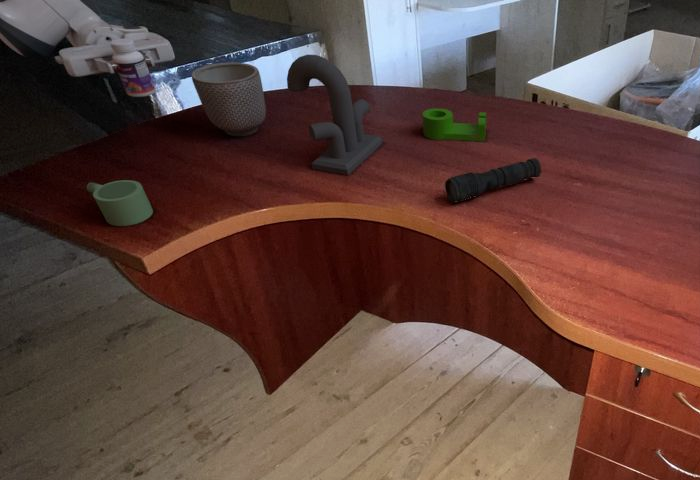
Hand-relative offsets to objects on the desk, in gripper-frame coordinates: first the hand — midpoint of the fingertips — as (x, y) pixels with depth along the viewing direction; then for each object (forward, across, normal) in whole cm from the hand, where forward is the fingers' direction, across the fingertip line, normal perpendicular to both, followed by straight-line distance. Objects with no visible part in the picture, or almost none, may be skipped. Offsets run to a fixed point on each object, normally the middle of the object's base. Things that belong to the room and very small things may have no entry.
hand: (132, 65), depth 108 cm
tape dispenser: (+36, +54, +16) cm, 67 cm away
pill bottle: (-1, 0, +6) cm, 6 cm away
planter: (+3, +17, +17) cm, 24 cm away
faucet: (+26, +27, +16) cm, 41 cm away
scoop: (+23, -17, +17) cm, 33 cm away
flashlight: (+62, +42, +16) cm, 77 cm away
